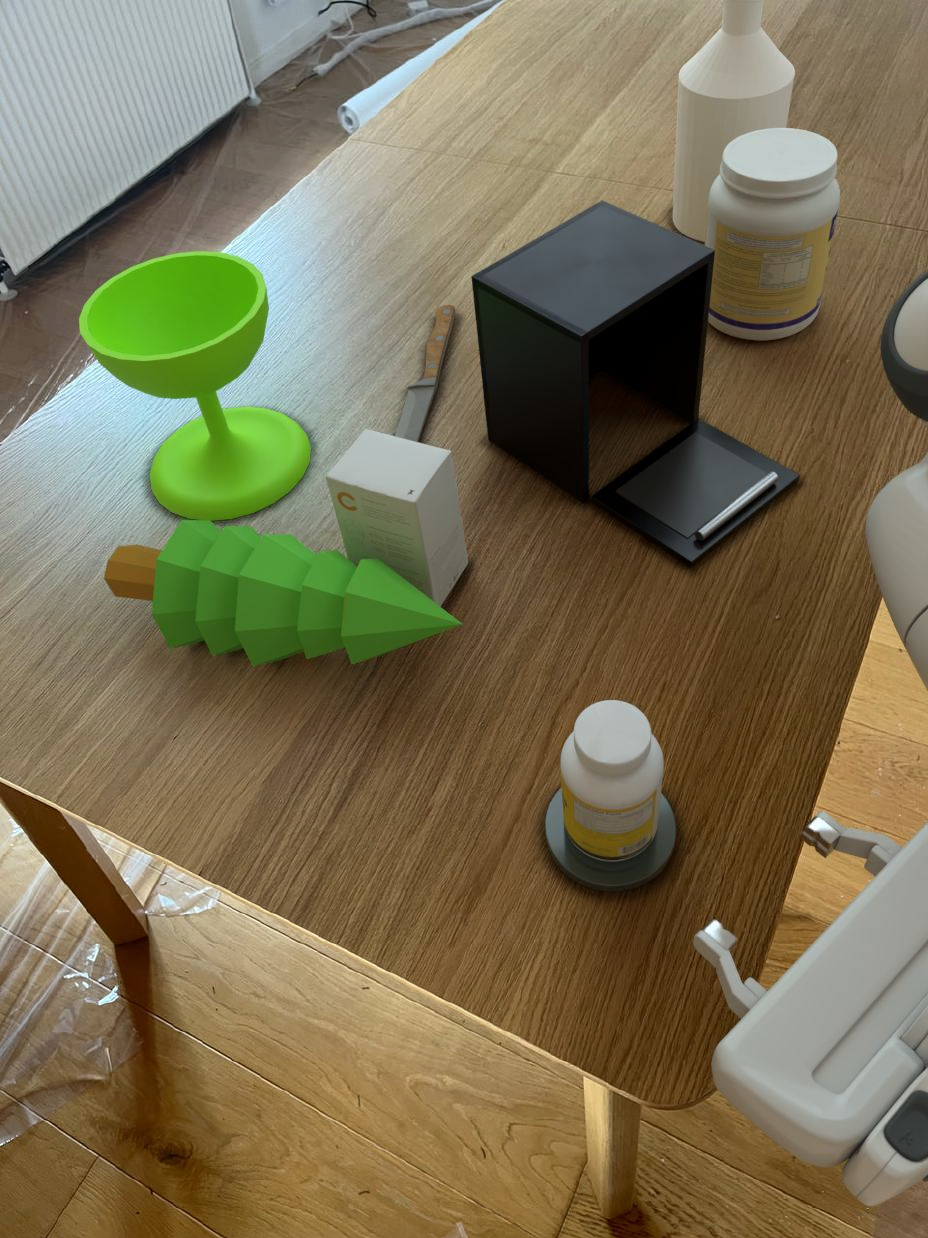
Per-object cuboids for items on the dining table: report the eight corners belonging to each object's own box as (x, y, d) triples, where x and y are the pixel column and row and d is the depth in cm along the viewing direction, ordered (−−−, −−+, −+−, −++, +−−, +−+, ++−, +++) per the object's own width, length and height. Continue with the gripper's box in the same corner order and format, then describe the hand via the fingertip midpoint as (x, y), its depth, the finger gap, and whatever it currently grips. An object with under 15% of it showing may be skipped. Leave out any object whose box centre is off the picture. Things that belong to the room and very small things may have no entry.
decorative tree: (105, 483, 81) (461, 528, 73) (176, 537, 92) (494, 582, 83) (58, 617, 79) (423, 681, 70) (138, 657, 89) (463, 717, 80)
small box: (470, 563, 89) (454, 449, 79) (436, 616, 85) (415, 503, 75) (389, 539, 92) (364, 425, 82) (353, 588, 88) (323, 476, 78)
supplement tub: (839, 329, 104) (874, 168, 91) (726, 357, 103) (745, 198, 90) (786, 268, 112) (811, 111, 99) (680, 293, 111) (692, 138, 98)
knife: (428, 304, 112) (454, 304, 111) (429, 313, 113) (456, 313, 112) (371, 507, 93) (403, 507, 93) (373, 515, 94) (405, 516, 94)
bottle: (765, 248, 115) (800, 4, 96) (660, 239, 118) (673, 2, 99) (781, 194, 122) (815, -43, 102) (681, 187, 125) (696, -45, 106)
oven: (803, 478, 91) (839, 304, 78) (686, 572, 86) (703, 403, 72) (601, 364, 104) (602, 199, 91) (488, 440, 99) (471, 275, 85)
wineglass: (264, 534, 93) (207, 373, 80) (118, 503, 98) (40, 346, 84) (337, 423, 103) (298, 261, 89) (200, 399, 107) (142, 242, 93)
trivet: (656, 765, 74) (657, 758, 73) (691, 879, 68) (692, 873, 68) (534, 787, 74) (533, 780, 73) (559, 903, 68) (558, 896, 68)
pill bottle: (605, 765, 74) (607, 669, 65) (677, 820, 70) (689, 727, 61) (543, 825, 71) (536, 733, 62) (615, 885, 68) (618, 797, 59)
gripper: (1117, 900, 52) (880, 735, 59) (872, 1207, 45) (636, 976, 52) (1073, 948, 57) (859, 790, 64) (845, 1232, 49) (633, 1017, 57)
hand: (757, 875), depth 58 cm, fingers open, 8 cm apart
